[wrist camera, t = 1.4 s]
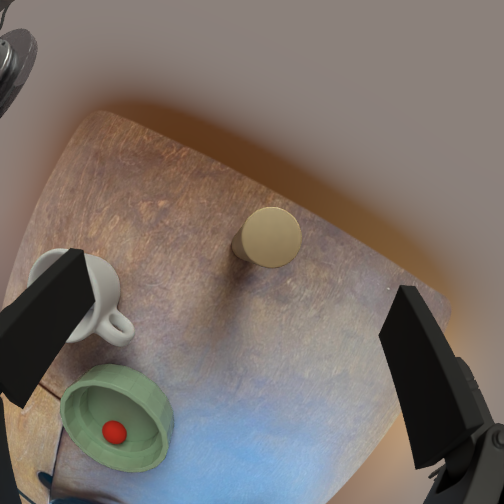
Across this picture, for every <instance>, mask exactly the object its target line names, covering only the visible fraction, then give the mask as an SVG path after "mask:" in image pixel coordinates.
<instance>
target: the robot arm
mask: <svg viewBox="0 0 504 504" xmlns="http://www.w3.org/2000/svg"><path fill="white" fill-rule="evenodd" d="M13 1H14V0H0V12H1V11H2V10H3V9H4V8H5V7H6V8H5V10H4V12H3V14H2V18H1V23H0V30H1V28H2V25H3V21H4V17H5V13H6V11H7V9H8V7H9V5H10V4H11V3H12V2H13ZM13 55H14V50H13V47H12V46H11V45H10V44H9V43H8V42H7V41H6V40H2V39H0V84H1V82H2V81H3V79H4V77H5V76H6V74H7V72H8V70H9V68H10V65H11V63H12V60H13ZM95 302H96V300H95V297H94V293H93V289H92V285H91V281H90V277H89V273H88V269H87V265H86V260H85V255H84V250H81V249H73V248H70V249H69V250H68V251H67V252H65V253H64V254H63V255H62V256H61V257H60V258H59V259H58V260H56V261H55V262H54V263H53V264H52V265H51V266H50V267H49V268H48V269H47V270H46V271H44V272H43V273H42V274H41V275H40V276H39V277H38V278H37V279H36V280H35V281H34V282H33V283H32V284H31V285H30V286H29V287H28V288H27V289H26V290H25V291H24V292H23V293H22V294H21V295H20V296H19V297H18V298H17V299H16V300H15V301H14V302H13V303H12V304H10V305H9V306H7V307H6V308H4V309H3V310H2V311H1V313H0V394H1V393H2V392H3V393H4V394H5V396H6V397H7V398H8V399H9V401H10V402H12V403H14V404H15V405H17V406H18V407H20V408H22V409H23V408H24V407H25V405H26V403H27V401H28V400H29V398H30V396H31V395H32V393H33V391H34V390H35V388H36V387H37V385H38V383H39V382H40V380H41V379H42V377H43V375H44V374H45V372H46V371H47V369H48V368H49V366H50V365H51V363H52V362H53V360H54V359H55V357H56V356H57V354H58V353H59V351H60V350H61V348H62V347H63V345H64V344H65V342H66V341H67V340H68V338H69V337H70V335H71V334H72V333H73V331H74V330H75V328H76V327H77V326H78V324H79V323H80V322H81V320H82V319H83V317H84V316H85V315H86V313H87V312H88V311H89V309H90V308H91V307H92V305H93V304H94V303H95ZM378 336H379V338H380V341H381V344H382V347H383V350H384V353H385V356H386V359H387V362H388V366H389V369H390V372H391V375H392V378H393V382H394V385H395V388H396V392H397V395H398V399H399V402H400V406H401V410H402V413H403V417H404V421H405V425H406V429H407V433H408V437H409V441H410V446H411V450H412V454H413V459H414V464H415V469H416V470H417V469H421V468H425V467H429V466H432V465H435V464H436V463H437V462H438V461H440V460H441V459H443V458H444V459H445V464H444V465H443V466H441V467H440V468H438V469H437V470H435V471H434V472H432V473H431V475H430V476H429V477H428V478H430V479H431V478H432V477H434V476H435V475H437V474H438V475H437V477H436V478H435V479H434V481H435V482H434V484H433V486H432V488H431V490H430V491H429V493H428V495H427V497H426V499H425V501H424V503H423V504H504V425H503V424H500V423H496V424H495V423H494V421H493V419H492V417H491V414H490V412H489V409H488V407H487V404H486V402H485V400H484V397H483V395H482V393H481V391H480V389H478V387H479V386H478V384H477V382H476V380H474V376H473V374H472V372H471V370H470V368H469V366H468V365H467V364H466V363H465V362H464V361H463V360H462V359H461V358H460V357H455V355H454V353H453V351H452V349H451V348H450V346H449V344H448V342H447V340H446V338H445V336H444V334H443V333H442V331H441V329H440V327H439V325H438V324H437V322H436V320H435V318H434V317H433V315H432V313H431V311H430V310H429V308H428V306H427V305H426V303H425V301H424V300H423V298H422V296H421V295H420V293H419V292H418V290H417V288H416V287H415V286H406V285H400V286H399V289H398V291H397V294H396V296H395V299H394V301H393V304H392V306H391V308H390V311H389V313H388V315H387V318H386V320H385V322H384V324H383V327H382V329H381V331H380V333H379V335H378ZM0 504H22V503H21V499H20V496H19V493H18V489H17V485H16V481H15V477H14V473H13V469H12V464H11V459H10V454H9V448H8V442H7V435H6V427H5V418H4V407H3V400H2V398H1V397H0Z"/></svg>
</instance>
